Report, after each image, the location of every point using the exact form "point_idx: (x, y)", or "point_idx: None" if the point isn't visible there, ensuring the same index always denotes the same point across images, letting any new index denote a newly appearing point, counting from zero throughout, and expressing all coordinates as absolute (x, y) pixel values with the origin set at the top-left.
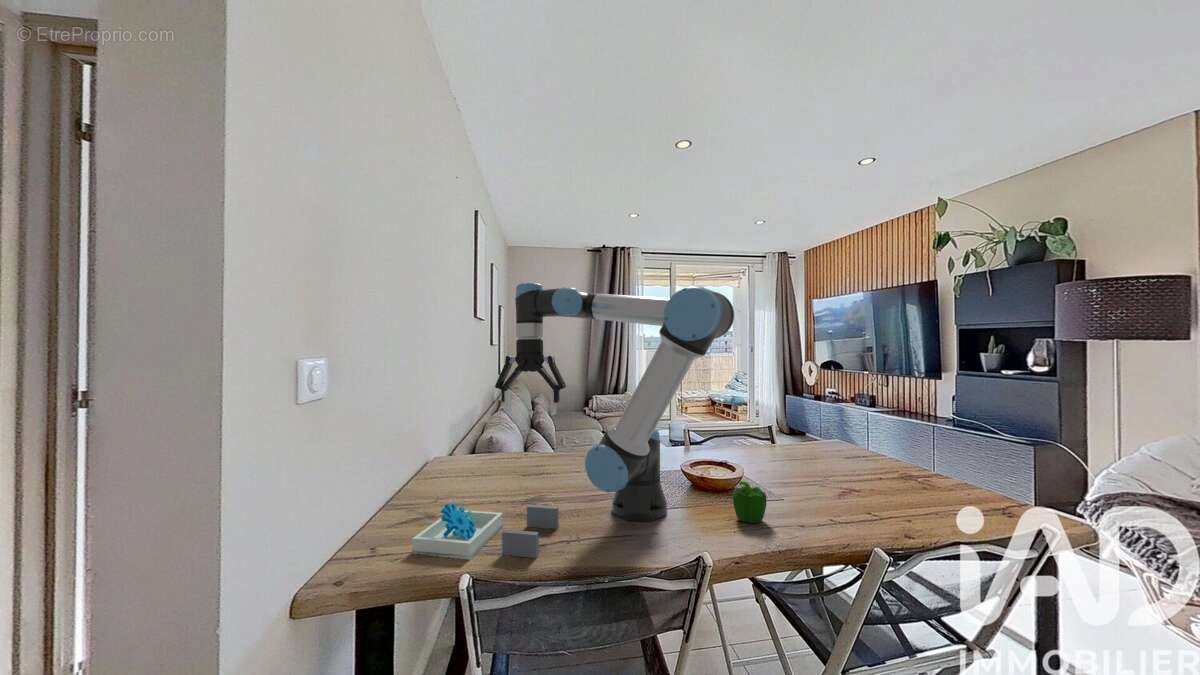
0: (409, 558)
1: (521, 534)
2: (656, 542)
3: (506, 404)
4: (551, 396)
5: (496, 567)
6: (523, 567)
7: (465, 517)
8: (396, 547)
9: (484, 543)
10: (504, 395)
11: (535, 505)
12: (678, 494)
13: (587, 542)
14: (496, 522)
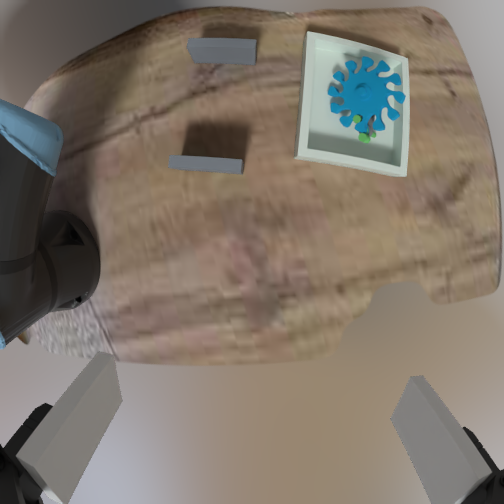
0: None
1: (217, 38)
2: None
3: (440, 412)
4: (46, 434)
5: (252, 26)
6: (210, 31)
7: (360, 110)
8: (429, 90)
9: (300, 83)
10: (473, 457)
11: (223, 169)
12: (33, 328)
13: (122, 117)
14: (299, 126)
